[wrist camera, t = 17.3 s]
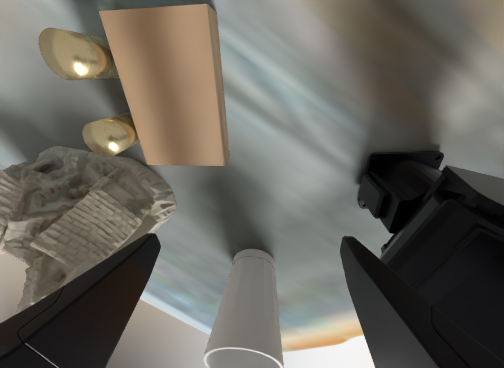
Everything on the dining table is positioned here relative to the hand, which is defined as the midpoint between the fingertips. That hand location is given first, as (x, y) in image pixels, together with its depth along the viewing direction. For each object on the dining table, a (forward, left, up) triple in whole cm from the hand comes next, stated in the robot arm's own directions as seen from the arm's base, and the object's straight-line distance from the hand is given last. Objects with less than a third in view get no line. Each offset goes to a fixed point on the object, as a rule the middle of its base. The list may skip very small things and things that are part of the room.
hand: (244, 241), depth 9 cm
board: (+7, -5, -14) cm, 16 cm away
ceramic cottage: (+20, +5, -13) cm, 25 cm away
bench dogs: (+13, -6, -13) cm, 19 cm away
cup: (+2, +18, -13) cm, 22 cm away
